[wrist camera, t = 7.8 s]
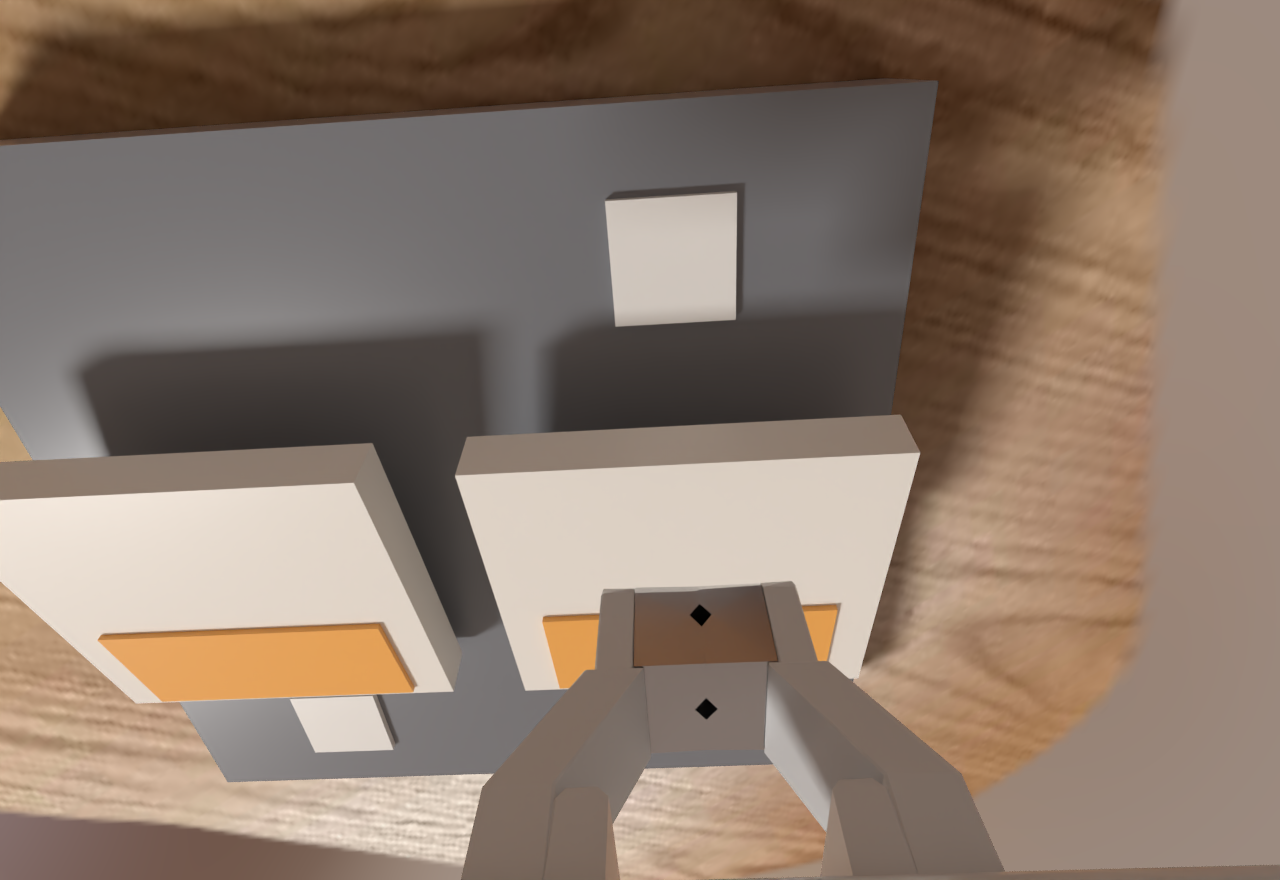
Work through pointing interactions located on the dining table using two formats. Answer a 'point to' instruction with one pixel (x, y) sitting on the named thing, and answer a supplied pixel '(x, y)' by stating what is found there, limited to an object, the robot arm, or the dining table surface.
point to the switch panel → (455, 322)
